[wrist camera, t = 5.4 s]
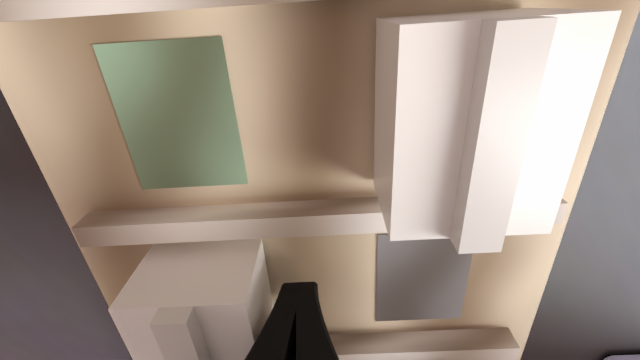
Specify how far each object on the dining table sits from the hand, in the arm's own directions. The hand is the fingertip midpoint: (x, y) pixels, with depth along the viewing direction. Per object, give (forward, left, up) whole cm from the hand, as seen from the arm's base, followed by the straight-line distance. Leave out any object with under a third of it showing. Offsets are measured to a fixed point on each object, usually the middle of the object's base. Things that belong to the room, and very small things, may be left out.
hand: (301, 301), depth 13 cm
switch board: (-1, 0, -3) cm, 3 cm away
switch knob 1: (+3, 0, -1) cm, 3 cm away
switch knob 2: (-5, -7, -1) cm, 8 cm away
